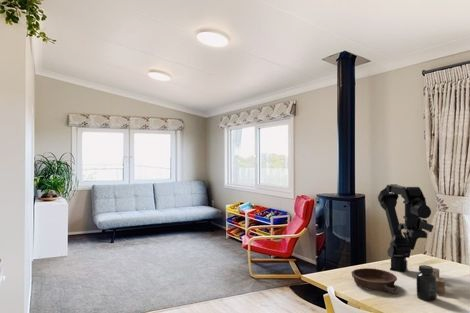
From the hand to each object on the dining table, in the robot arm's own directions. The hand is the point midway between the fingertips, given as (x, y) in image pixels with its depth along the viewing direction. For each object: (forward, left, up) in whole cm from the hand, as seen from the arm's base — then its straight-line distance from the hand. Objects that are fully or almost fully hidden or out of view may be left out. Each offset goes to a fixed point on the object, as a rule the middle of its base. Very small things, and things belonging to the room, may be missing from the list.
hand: (412, 249), depth 155 cm
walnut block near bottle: (+11, -10, -13) cm, 20 cm away
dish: (-11, -19, -14) cm, 26 cm away
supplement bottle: (+9, -20, -13) cm, 26 cm away
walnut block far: (+7, +3, -13) cm, 15 cm away
